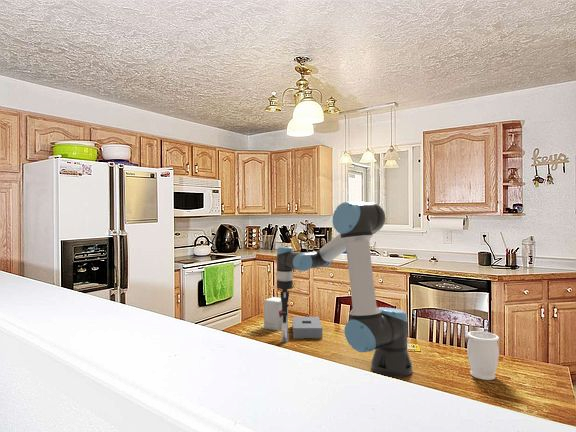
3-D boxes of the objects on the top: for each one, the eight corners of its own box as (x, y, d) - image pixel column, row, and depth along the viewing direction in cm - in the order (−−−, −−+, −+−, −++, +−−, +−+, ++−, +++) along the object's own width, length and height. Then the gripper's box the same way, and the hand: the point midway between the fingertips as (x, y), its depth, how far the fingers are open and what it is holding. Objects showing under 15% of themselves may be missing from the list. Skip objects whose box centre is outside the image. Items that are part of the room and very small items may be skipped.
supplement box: (277, 331, 191) (277, 301, 191) (263, 328, 196) (263, 299, 196) (287, 326, 199) (287, 298, 199) (273, 324, 204) (273, 296, 204)
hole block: (322, 338, 180) (322, 328, 180) (293, 338, 180) (293, 328, 180) (318, 326, 200) (318, 316, 200) (292, 326, 200) (292, 316, 200)
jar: (471, 367, 145) (471, 328, 145) (501, 374, 139) (501, 334, 139) (463, 376, 137) (463, 335, 137) (495, 384, 131) (495, 341, 131)
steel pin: (288, 342, 174) (288, 310, 174) (281, 342, 174) (281, 310, 174) (288, 340, 177) (288, 308, 177) (281, 340, 177) (281, 308, 177)
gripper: (277, 275, 188) (277, 317, 188) (276, 284, 163) (275, 333, 163) (292, 275, 188) (292, 317, 188) (293, 285, 163) (293, 333, 163)
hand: (284, 324), depth 176 cm, fingers open, 13 cm apart
